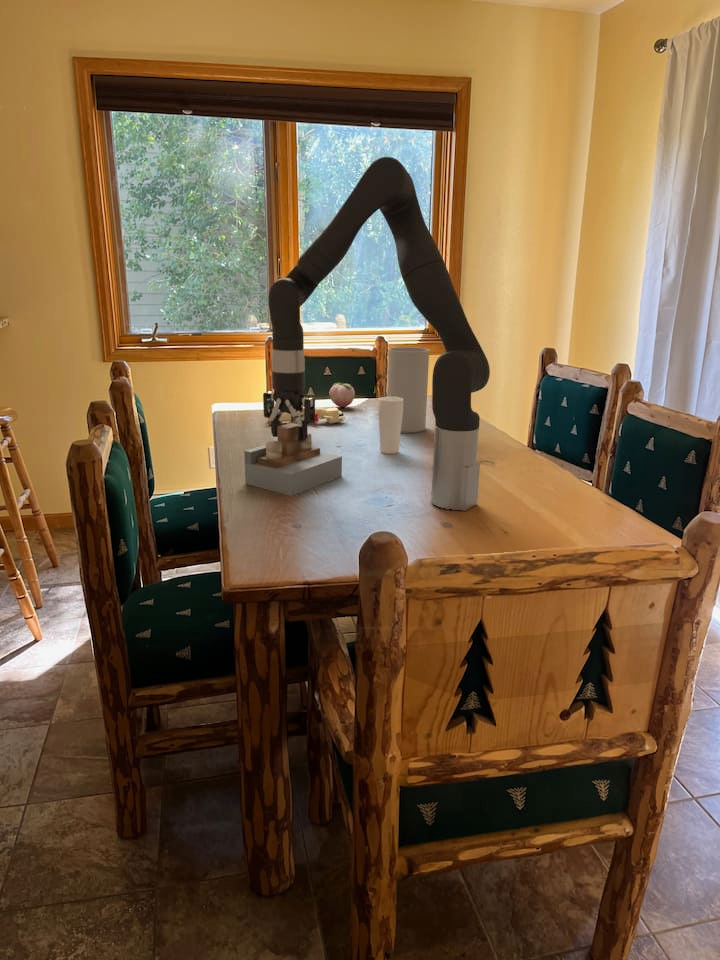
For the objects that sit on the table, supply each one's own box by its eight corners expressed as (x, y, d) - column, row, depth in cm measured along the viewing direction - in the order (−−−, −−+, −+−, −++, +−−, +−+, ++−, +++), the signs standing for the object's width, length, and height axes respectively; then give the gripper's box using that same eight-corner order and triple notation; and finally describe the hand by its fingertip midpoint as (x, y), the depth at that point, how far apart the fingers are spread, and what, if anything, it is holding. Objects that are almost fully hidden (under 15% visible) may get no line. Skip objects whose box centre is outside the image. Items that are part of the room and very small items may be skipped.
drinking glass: (399, 456, 187) (401, 401, 182) (375, 454, 188) (376, 400, 183) (403, 449, 193) (405, 397, 188) (379, 448, 194) (381, 395, 190)
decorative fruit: (359, 407, 248) (360, 380, 245) (347, 411, 242) (347, 383, 239) (337, 404, 253) (338, 377, 250) (325, 408, 246) (325, 380, 243)
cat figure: (268, 431, 217) (347, 424, 220) (266, 404, 214) (345, 397, 217) (268, 424, 226) (343, 417, 229) (265, 398, 224) (341, 391, 227)
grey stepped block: (341, 476, 168) (342, 444, 165) (291, 495, 153) (291, 461, 150) (297, 466, 175) (297, 435, 173) (245, 483, 160) (244, 450, 158)
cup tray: (301, 449, 171) (300, 418, 169) (320, 453, 168) (320, 421, 166) (257, 463, 159) (256, 430, 156) (276, 468, 156) (276, 434, 153)
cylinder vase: (432, 432, 214) (436, 351, 207) (395, 434, 210) (398, 352, 202) (414, 423, 225) (418, 346, 218) (379, 426, 221) (382, 347, 213)
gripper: (323, 370, 156) (322, 440, 161) (275, 364, 164) (276, 431, 169) (302, 374, 150) (302, 446, 155) (253, 367, 158) (255, 437, 163)
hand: (289, 438), depth 162 cm, fingers open, 7 cm apart
